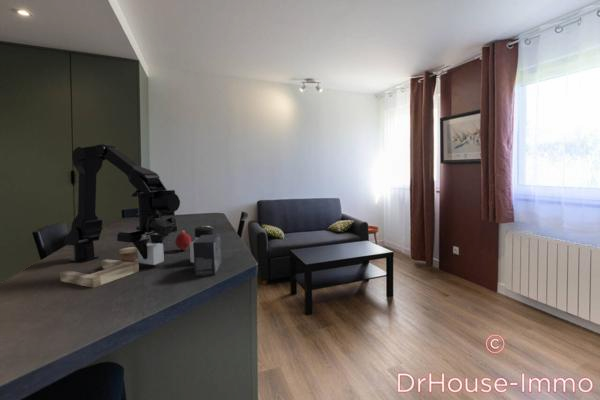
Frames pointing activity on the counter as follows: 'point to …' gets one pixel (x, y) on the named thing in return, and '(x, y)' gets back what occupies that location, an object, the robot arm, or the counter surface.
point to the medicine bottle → (198, 232)
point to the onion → (183, 240)
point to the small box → (207, 255)
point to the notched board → (101, 273)
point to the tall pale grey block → (152, 254)
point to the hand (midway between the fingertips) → (150, 257)
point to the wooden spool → (129, 254)
